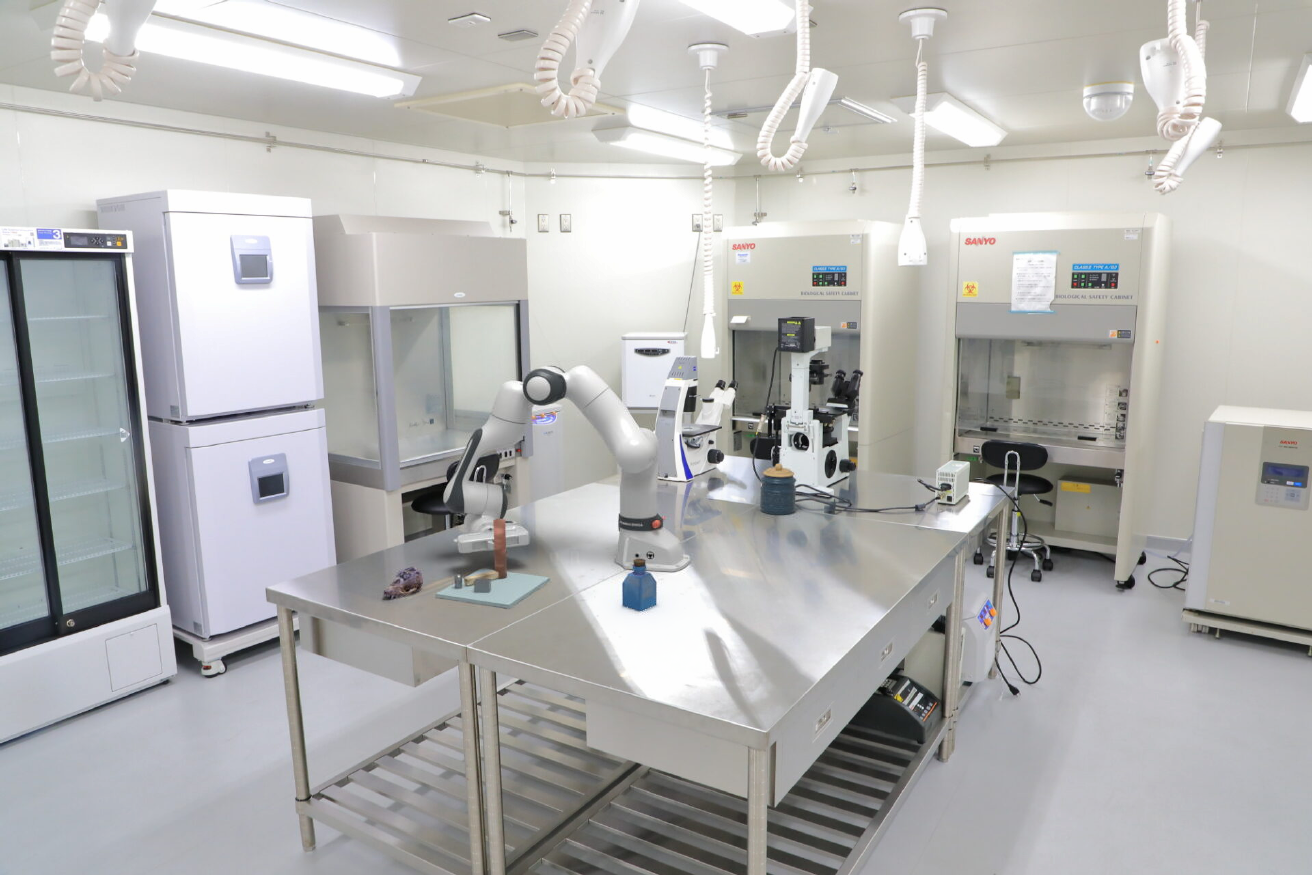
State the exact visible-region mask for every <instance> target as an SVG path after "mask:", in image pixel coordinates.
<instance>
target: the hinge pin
mask: <svg viewBox="0 0 1312 875" xmlns="http://www.w3.org/2000/svg"><path fill="white" fill-rule="evenodd" d="M462 579H463V574H461V573H455V574H454V577H453V581H454V583H455V589H461V588H462Z"/></svg>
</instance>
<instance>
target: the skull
mask: <svg viewBox="0 0 1312 875" xmlns="http://www.w3.org/2000/svg"><path fill="white" fill-rule="evenodd" d="M396 573H397V574H396V576H395V578H394V580H393V581H392V583H390V584H389V586H388V587H386V588H385V589H384V590H383V594H382V595H383V597H385V596H387V597H390V596H391V600H393V599H394V597H395V599H398V598H402V597H405V596H407V595H409V594H411V593H412V592H418V591H419V590H420V589H422V586H423V584H424V579H423V576H422V571H420V569H419V568H418V567H416V566H411V567H407V568H403V569H401V570H399V571H398V572H396ZM406 590H409V591H406ZM401 596H402V597H401Z"/></svg>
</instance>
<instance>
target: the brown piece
mask: <svg viewBox="0 0 1312 875" xmlns="http://www.w3.org/2000/svg"><path fill="white" fill-rule="evenodd" d="M505 521H506V519H505V518H503V519H495V520H493V524H494V550H493V551H494V570H495V571H491V572H487V573H483V574H478V575H474V576H470V577H467V576H465V577H466V578H465V577H464V584H465V585H467V586H469V585H473V584H474V581H475V579H491V580H493V579H497V578H505V577H507V572H508V568H507V565H508V564H507V561H508V560H507V548H506V528H505Z"/></svg>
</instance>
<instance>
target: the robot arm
mask: <svg viewBox="0 0 1312 875" xmlns="http://www.w3.org/2000/svg"><path fill="white" fill-rule="evenodd" d="M498 390H499V391H498V392H497V394H496V397H495V399H494V402H493V405H492V408H491V412H490V414H489V418H488V419H487V421H486V422H485V423H484V424H483V426H481V428H477V429H475V430H474V432H473V433H472V435H471V436H470V439H468V442H467V445H466V446H465V448H464V450H463V452H462V455H461V457H460V459H459V461H458V464H457V465H456V466H457V467H456V468H455V471H454V472H453V474H452V476H451V478H450V479H449V482H448V483H447V485H446V488H445V489H444V492H443V497H442V498H443V499H442V500H443V504H444V505H445V507H446V509H448V510H449V511H450V513H452V514H453V513H454V514H466V515H465V517H464V521H463V526H464V530H465V532H466V533H464V534H459V535H458V536H457V538H453V544H455V545H457V549H458V553H460V554H470V553H475V552H476V553H477V552H484V551H485V552H490V551H494V524H493V520H495V519H505V516H506V514H507V510H508V503H509V500H508V496H507V492H506V491H505V489H504V487H503V486H501V485H499V484H495V483H494V484H493V483H488V482H480V481H472V480H470V477H471V475H472V473H473V471H474V468H475V466H476V464H477V462H478V460H479V459H480V457H481V456H483V455H484V454H486V453H489V452H491V451H495V450H500V449H507V448H509V447H512V446H514V445H516V444H518V443H519V442H520V441H521V440H522V439H523V437H524V435H525V433H526V429H527V426H528V422H529V419H530V414H531V412H532V409H533V407H534V406H535V405H536V406H539V407H543V406H549V405H552V404H554V403H557V402H558V401H560V400H562V399H567V400H569V401H570V402H572V403H573V404H574V406H576V408H577V409H578V410H579V412H580V413H581V414H582V415H583V416H584V417H585V419H586V420H587V421H588V422H589V423H590V424H591V426H592V427H593V428H594V429H595V431H596V432H597V433H598V434H599V435H600V437H601V439H602V440H603V442H604V443H605V445H606V447H607V448H608V450H609V451H610V453H611V454H612V456H613V457H614V459H615V460H616V463H617V464H618V466H619V468H621V473H620V474H621V476H620V484H619V513H618V518H617V519H618V520H617V526H618V527H617V529H618V532H619V534H618V544H617V549H616V553H615V557H614V561H615V562H616V563H617V564H619V565H620V566H622V568H623V569H625V570H633V564H634V562H633V560H635V559H644V560H646V562H645V564H646V570H645V571H651V572H652V571H654V572H655V571H656V572H671V573H672V572H678V571H681V570H683V569H684V568H686V567H687V566H689V565H690V563H691V557H690V556H689V554H686V553H685V554H684V550H683V545H682V542H681V540H680V538H678V537H676V535H674V534H673V533H671V532H670V531H669V530H668V529H667V528H665V527H664V521H665V516H664V515H663V516H660V515H659V513H658V484H659V483H658V482H659V465H660V464H659V463H660V441H659V439H658V436H657V434H655V432H653V430H651V429H649V428H645V427H639V425H638V423H637V422H636V421H635V419H634V417H633V416H632V414H631V413H630V411H629V409H628V407H627V406H626V404H624V402H623V401H622V400H621V399H620V398H619V396H618V395H617V394H616V393H615V392H614V391H613V390H612V389H611V387H610V385H608V384H607V383H606V381H604V379H603V378H602V377H601V376H599V375H598V374H597V373H596V372H595V371H594V370H593V369H591V368H590V367H589V366H587V365H583V364H581V365H580V364H579V365H577V366H574V367H572V368H570V369H569V370H568V371H567V372H566V371H564V370H563V369H562V368H560V367H558V366H556V365H546V366H545V365H544V366H539V367H537V368H535V369H533V370H531V371H530V372H528V373H527V375H525V377H524V379H523V381H519V380H507V381H506V382H504V383H503V384H501V386H500V388H499V389H498ZM505 528H506V549H507V548H514V547H523V546H527V545H529V544H530V533H529V531H528V530H527V529H526V528H524V527H523V526H521V525H518V522H517V521H515V520H505Z"/></svg>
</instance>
